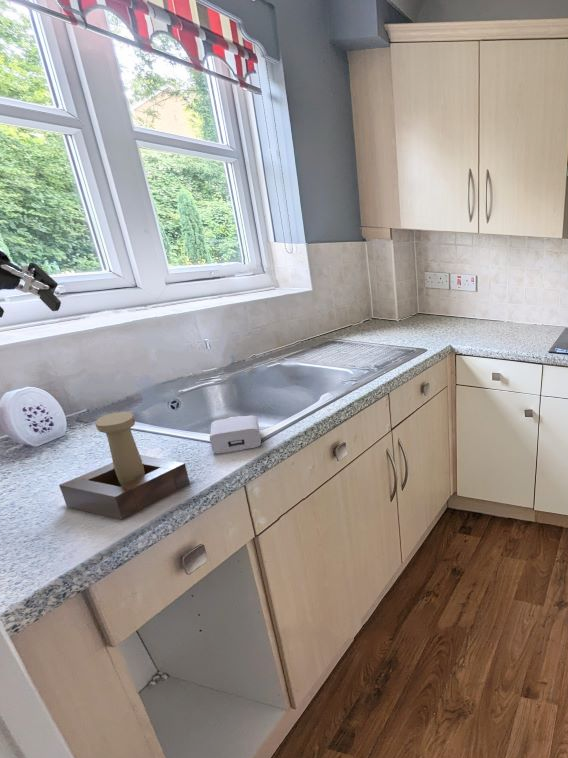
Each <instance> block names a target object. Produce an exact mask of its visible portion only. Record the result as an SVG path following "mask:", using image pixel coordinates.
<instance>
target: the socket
mask: <svg viewBox="0 0 568 758" xmlns="http://www.w3.org/2000/svg"><path fill="white" fill-rule="evenodd" d="M140 457H141V460H142V463H143V467H144V471H145V475H144V476H142V477H139V478H137V479H135V480H133V481H131V482H129V483H127V484H124V485H122V486H121V484H120V482H119V480H118V478H117V475H116V472H115V468H114V465H113V462H112V463H108V464H106V465H103V466H101V467H99V468H97V469H93V470H92V471H89V472H87V473H85V474H83V475H82V474H81V475H79V476H77V477H75V478H72V479H70V480H68V481H65V482H62V483H60V484H59V485H58V487H59V489H60V491H61V494H62V497H63V499H64V503H65V505H66V507H67V508H70V509H74V510H78V511H83V512H86V513H91V514H95V515H100V516H105V517H109V518H112V519H113V518H114V519H117V520H122V521H123V520H125V519H126V518H128V517H130V516H132V515H134V514H136V513H137V512H139V511H142V510H143V509H145V508H148V506H151V505H152V504H154V503H156V502H159V501H160V500H162V499H165V497H168V496H170V495H172V494H173V493H175V492H177V491H179V490H181V489H183V488H184V487H187V486H188V485H190V484H191V482H190V477H189V474H188V469H187V466H186V463H185V462H181V461H174V460H169V459H164V458H158V457H154V456H149V455H143V454H140Z"/></svg>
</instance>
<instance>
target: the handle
mask: <svg viewBox="0 0 568 758" xmlns="http://www.w3.org/2000/svg"><path fill="white" fill-rule="evenodd" d="M94 424H95V427H96V429H97V431H98V432H99V433H103V434H105V435H106V438H107V442H108V446H109V450H110V456H111V460H112V463H113V465H114V468H115V472H116V475H117V478H118V480H119V482H120V484H121V486H122V485H124V484H127V483H129V482H131V481H133V480H135V479H137V478H139V477H142V476H144V475H145V471H144V467H143V463H142V460H141V457H140V455H141V454H140V452H139V449H138V447H137V443H136V441H135V438H134V435H133V432H132V429H131V428H133V426H135V424H136V418H135V416H134V414H133V412H132V411H120V412H119V411H118V412H112V413H108V414H105V415H102V416H100V417H98V419H97V420H95V422H94Z"/></svg>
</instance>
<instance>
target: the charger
mask: <svg viewBox="0 0 568 758" xmlns="http://www.w3.org/2000/svg"><path fill="white" fill-rule="evenodd" d="M259 425H260V424H259V420H258V416H256V415H244V416H242V415H237V416H231V417H230V416H229V417H228V418H220V419H215V420H214V421H211V423H210V432H209V442H210V446H211V451H212V453H214V454H226V453H232V452H238V451H243V450H249V449H254V448H258V447H259V446H261V445H262V441H261V431H260V426H259Z"/></svg>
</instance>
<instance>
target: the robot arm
mask: <svg viewBox="0 0 568 758" xmlns="http://www.w3.org/2000/svg"><path fill="white" fill-rule="evenodd" d="M22 280H23V281H24V284H21V281H22ZM58 286H59V283H58V282H57V281H56V280H55V279H53V278H52V277H51V276H50V275H49V274H48V273H47V272H46V271H45V270H44V269H43V268H42V267H40V266H39V265H38V264H37V263H35V262H29V264H28V265H25V266H19V265H18V264H15V263H14V262H12V261H11V260H10V258H9V256H8V254H7V253H6V252H5V251H4V250H3V249H2V248H1V247H0V291H2V290H10V291H11V290H17V291H20V292H22V293H26V294H27V293H30V294H33V295H35V296H37V297H38V298H39V299H40V301H42V303H44V304H45V306H46V307H48V309H50V310H51V312H59V310H60V308H61V305H62V302H61V300H60V299H59V298H58V297H57V296H56V295H55V292H56V289H57V287H58ZM4 313H5V310H4V308H2V306H1V305H0V318H2V317H3V316H4Z"/></svg>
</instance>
